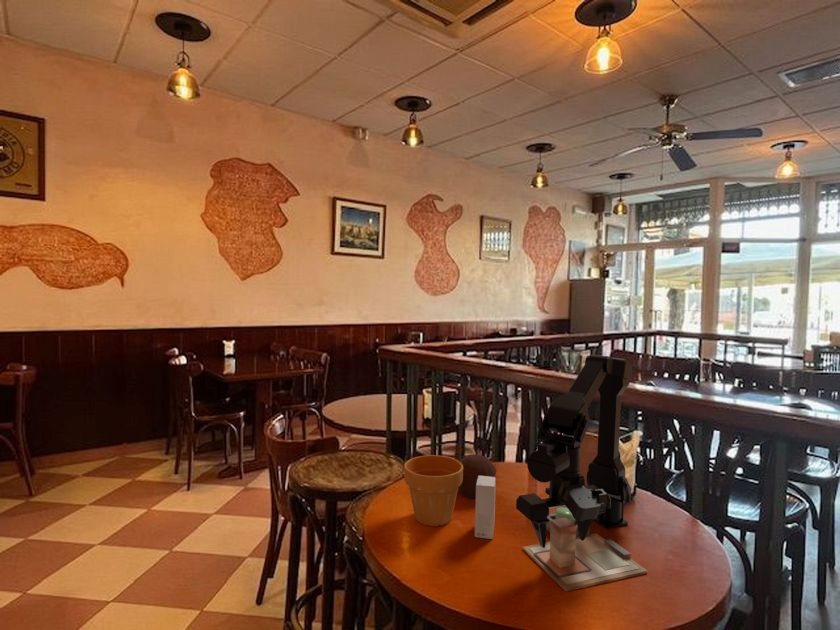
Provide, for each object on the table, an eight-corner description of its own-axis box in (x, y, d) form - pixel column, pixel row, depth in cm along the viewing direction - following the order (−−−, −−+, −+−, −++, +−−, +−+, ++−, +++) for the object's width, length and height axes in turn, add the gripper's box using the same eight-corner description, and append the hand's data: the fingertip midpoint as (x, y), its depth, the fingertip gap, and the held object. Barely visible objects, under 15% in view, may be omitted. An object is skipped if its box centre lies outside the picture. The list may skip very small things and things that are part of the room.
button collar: (568, 520, 115) (569, 510, 114) (589, 536, 107) (589, 525, 107) (541, 525, 112) (541, 515, 112) (560, 541, 105) (561, 530, 105)
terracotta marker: (564, 555, 98) (565, 517, 98) (575, 564, 95) (576, 525, 94) (549, 558, 97) (550, 520, 97) (559, 568, 94) (560, 528, 93)
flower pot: (394, 525, 111) (395, 471, 110) (415, 500, 124) (416, 451, 124) (452, 537, 106) (453, 480, 106) (468, 510, 120) (469, 459, 119)
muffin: (498, 502, 124) (499, 465, 123) (456, 502, 124) (456, 464, 124) (492, 484, 136) (493, 449, 135) (453, 483, 136) (454, 449, 135)
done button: (567, 517, 112) (567, 506, 112) (579, 526, 108) (579, 514, 108) (551, 520, 111) (551, 508, 111) (562, 529, 107) (563, 517, 107)
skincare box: (493, 539, 105) (494, 487, 105) (474, 537, 106) (475, 485, 106) (494, 526, 111) (496, 476, 111) (476, 524, 112) (477, 474, 112)
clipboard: (596, 535, 108) (596, 529, 108) (647, 573, 94) (647, 565, 93) (522, 549, 102) (522, 542, 102) (565, 591, 87) (565, 583, 87)
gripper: (547, 489, 84) (545, 574, 85) (632, 477, 90) (629, 556, 91) (515, 466, 95) (513, 542, 96) (593, 457, 101) (590, 529, 102)
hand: (562, 543), depth 96 cm, fingers open, 9 cm apart
